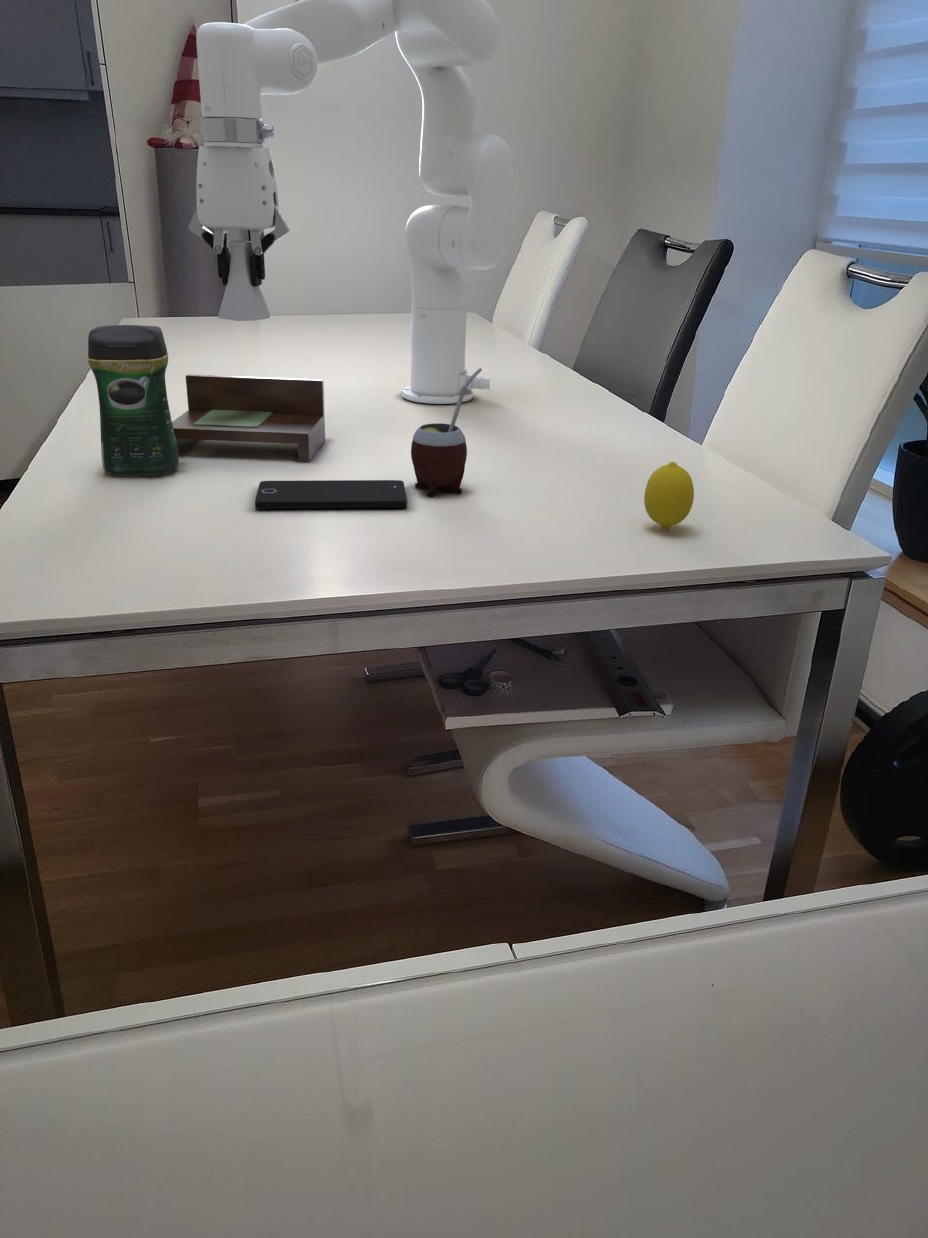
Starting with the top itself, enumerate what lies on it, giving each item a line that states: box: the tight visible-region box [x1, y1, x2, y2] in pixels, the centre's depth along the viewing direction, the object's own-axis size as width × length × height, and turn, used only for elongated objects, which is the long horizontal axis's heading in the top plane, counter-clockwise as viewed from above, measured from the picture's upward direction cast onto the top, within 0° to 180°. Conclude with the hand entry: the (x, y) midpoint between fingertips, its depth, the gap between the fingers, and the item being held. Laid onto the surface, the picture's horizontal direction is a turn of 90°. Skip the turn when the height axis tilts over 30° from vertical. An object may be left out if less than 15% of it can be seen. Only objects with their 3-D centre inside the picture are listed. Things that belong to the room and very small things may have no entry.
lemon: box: [643, 461, 695, 530], centre depth 115 cm, size 6×6×8 cm
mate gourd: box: [410, 367, 483, 498], centre depth 126 cm, size 8×8×15 cm
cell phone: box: [254, 479, 408, 510], centre depth 123 cm, size 9×18×1 cm, turn 96°
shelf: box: [172, 374, 326, 463], centre depth 143 cm, size 20×12×9 cm, turn 87°
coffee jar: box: [87, 324, 180, 477], centre depth 129 cm, size 10×8×19 cm
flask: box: [217, 240, 271, 322], centre depth 136 cm, size 7×7×10 cm
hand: (242, 283), depth 137 cm, fingers closed on flask, 3 cm apart
